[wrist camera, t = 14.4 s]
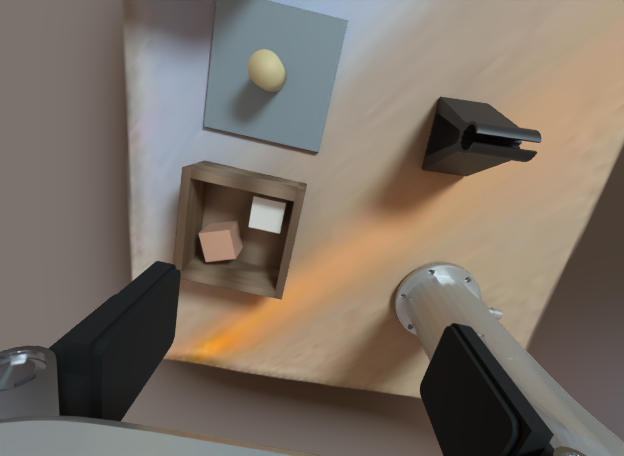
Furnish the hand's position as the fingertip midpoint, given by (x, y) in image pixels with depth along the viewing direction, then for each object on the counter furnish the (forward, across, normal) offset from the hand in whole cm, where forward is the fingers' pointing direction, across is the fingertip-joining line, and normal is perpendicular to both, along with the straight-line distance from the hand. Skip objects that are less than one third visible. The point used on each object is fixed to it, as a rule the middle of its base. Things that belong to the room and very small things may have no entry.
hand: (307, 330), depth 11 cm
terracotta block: (+31, +10, +10) cm, 35 cm away
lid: (+33, +8, -11) cm, 36 cm away
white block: (+31, +5, +5) cm, 32 cm away
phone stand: (+32, -16, -9) cm, 37 cm away
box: (+32, +8, +8) cm, 34 cm away
